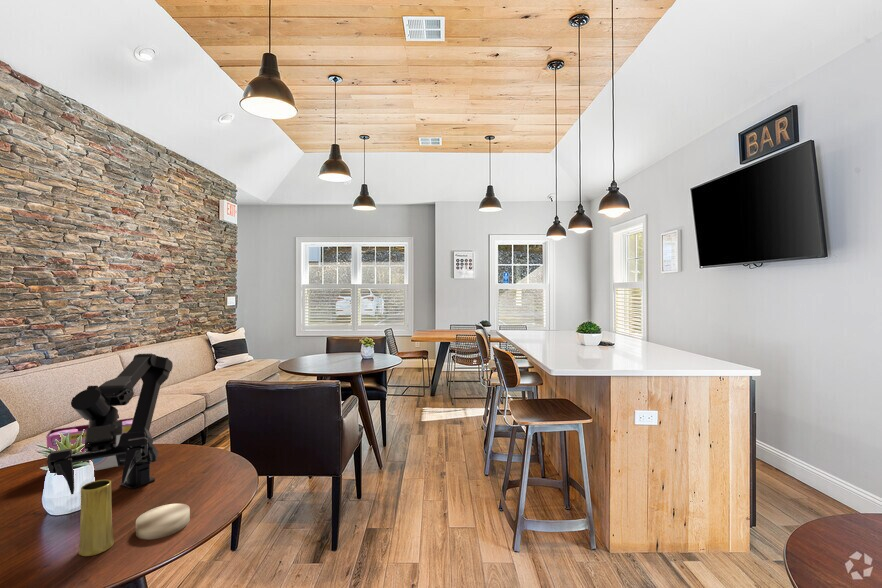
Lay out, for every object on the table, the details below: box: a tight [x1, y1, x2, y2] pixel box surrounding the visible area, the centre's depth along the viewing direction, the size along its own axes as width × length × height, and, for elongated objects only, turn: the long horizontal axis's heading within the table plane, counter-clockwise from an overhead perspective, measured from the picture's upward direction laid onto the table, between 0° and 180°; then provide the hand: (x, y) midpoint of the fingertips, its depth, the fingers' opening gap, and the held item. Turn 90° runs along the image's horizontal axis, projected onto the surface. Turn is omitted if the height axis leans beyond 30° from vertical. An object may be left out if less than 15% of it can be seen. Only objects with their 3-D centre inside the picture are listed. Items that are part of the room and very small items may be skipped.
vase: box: [78, 479, 115, 557], centre depth 93 cm, size 6×6×14 cm
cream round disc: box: [135, 503, 191, 540], centre depth 102 cm, size 11×11×3 cm
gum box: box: [45, 417, 134, 472], centre depth 137 cm, size 24×8×14 cm, turn 126°
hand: (98, 488), depth 97 cm, fingers open, 9 cm apart
